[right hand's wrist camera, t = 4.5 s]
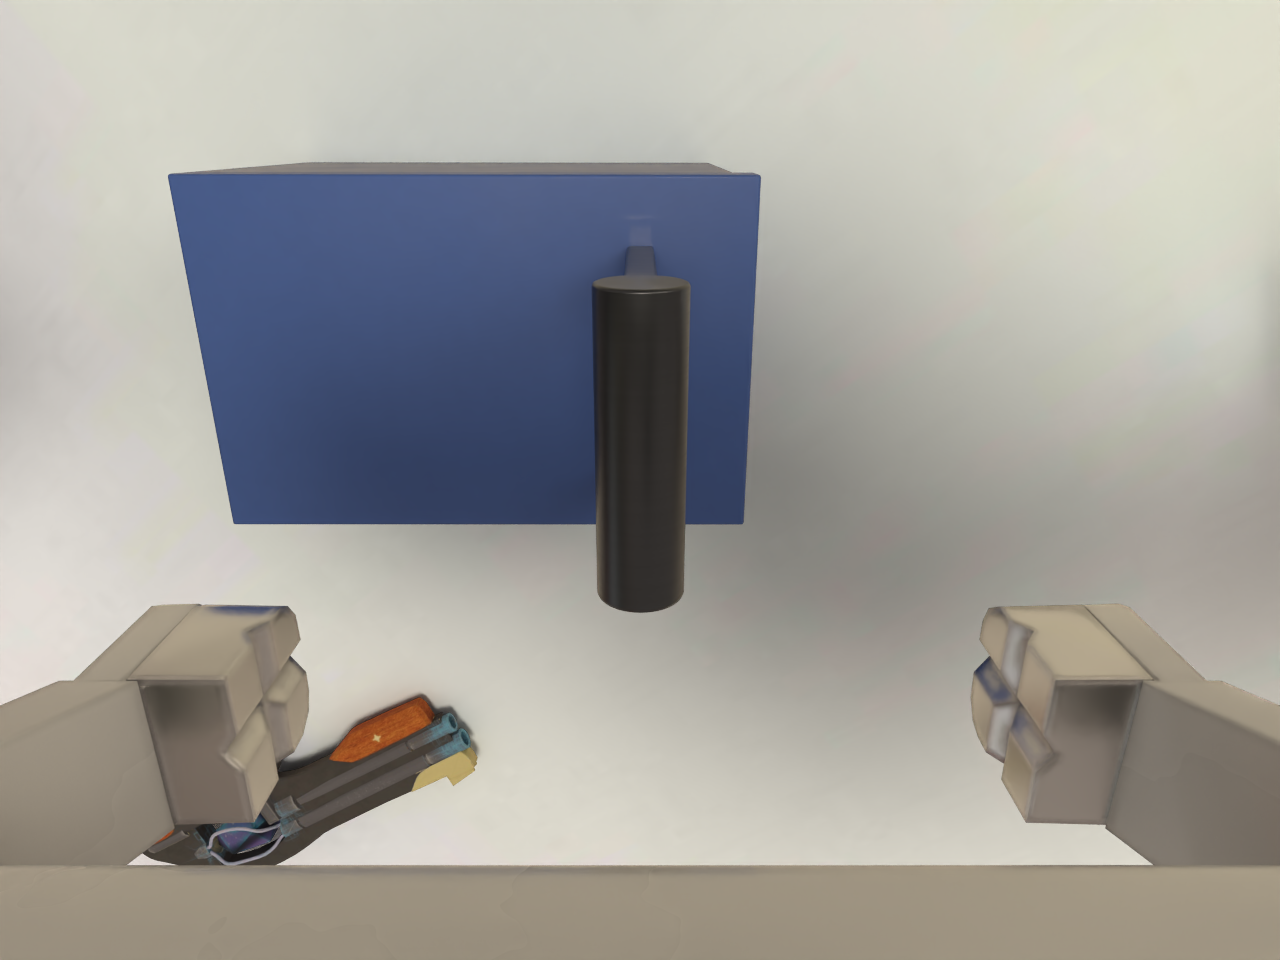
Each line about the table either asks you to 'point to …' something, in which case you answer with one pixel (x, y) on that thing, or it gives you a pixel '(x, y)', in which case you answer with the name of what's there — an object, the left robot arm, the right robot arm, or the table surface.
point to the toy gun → (333, 789)
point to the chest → (489, 167)
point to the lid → (481, 351)
